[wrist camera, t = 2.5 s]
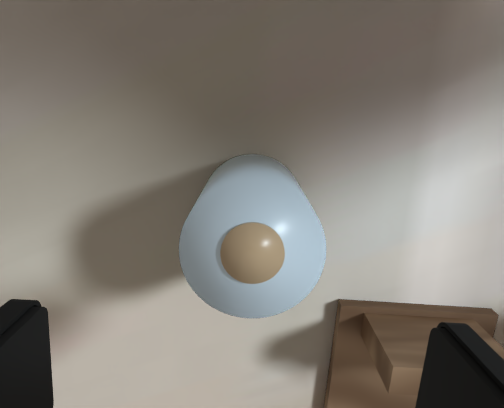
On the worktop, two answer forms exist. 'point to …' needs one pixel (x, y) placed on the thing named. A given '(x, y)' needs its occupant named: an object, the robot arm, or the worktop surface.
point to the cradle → (390, 350)
